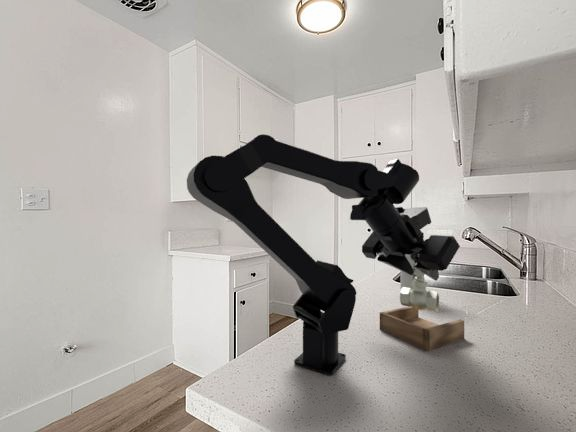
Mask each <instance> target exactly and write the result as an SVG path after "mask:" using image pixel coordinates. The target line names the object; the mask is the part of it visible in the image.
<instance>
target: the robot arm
mask: <svg viewBox="0 0 576 432" xmlns="http://www.w3.org/2000/svg"><path fill="white" fill-rule="evenodd" d="M260 168H264V169H268V170H271V171H275V172H278V173H282V174H285V175H288V176H292V177H295V178H299V179H302V180H305V181H308V182H312V183H316V184H319V185H321V186H324V187H325V188H326V189H327V190H328V191H329V193H332V194H333V195H336V196H337V197H340V198H341V199H344V200H345V199H346V200H353V199H354V200H355V199H361V200H360V201H359V203H358V204H353V205H351V212H350V217H349V220H351V221H365V222H366V224H367V225H368V226H369V228H370V229H371V230H372V232H371V233H370V235H369V236H368V237H367V239H366V240H365V242H364V243H363V244H362V245H361V252H362V253H363V255H364V256H365V257H366V258H368V259H373V260H375V259H377V261H378V262H381V263H383V264H385V265H388V266H390V267H392V268H395V269H396V270H398V271H403V272H405V273H407V274H409V275H413V273H414V270H413V268H412V266H411V264H410V263H409V261H408V260H407V258H406V256H405V255H409V256H411V255H412V254H413V253H418V255H419V262H418V263H417V265H416V266H415V268H417V269H418V270H420V271H421V272H423V273H424V274H425V275H426V276H427V277H429V278H430V279H432V280H433V281H438V279H439V277H440V274H439V273H440V272H442V271H445V270H447V269H448V268H449V265H450V264H451V263H452V260H453V259H454V257H455V255H456V254H457V252H458V250H459V248H460V247H461V246H460V244H459V242H458V240H457V239H456V238H455V236H453V235H439V234H430V236H429V238H427V239H424V241H417V240H416V238H417V237H420V236H421V234H422V233H423V232H422V231H421V230H422V229H424V228H425V227H426V226H428V225H430V224H432V220H431V215H430V213H429V209H428V207H427V206H421V207H419V206H418V207H409V208H404V207H403V206H395V205H399V204H402V203H404V202H405V200H406V199H407V198H408V196H409V195H410V194H411V192H412V191H413V190H414V188H415V187H416V186H417V184H418V182H419V181H420V175H419V172H418V171H417V169H415V168H413V167H412V166H410V165H408V164H406V163H402V162H401V161H400V158H396V159H393V160H392V159H391V160H389V162H387V164H386V166H385V167H384V169H383V170H378V167H377V166H376V165H375V164H373V163H370V162H365V161H364V162H363V161H358V160H336V159H333V158H329V157H326V156H325V155H321V154H318V153H315V152H313V151H309V150H307V149H304V148H301V147H298V146H295V145H292V144H290V143H286V142H284V141H282V140H278V139H276V138H275V137H272V136H271V135H270V134H263V133H262V134H258V135H257V136H256V137H254V138H253V139H251V140H250V141H248V142H247V143H246V144H244V145H242V146H241V147H239V148H237V149H235V150H233V151H232V152H229V153H228V154H227V155H224V156H223V155H209V156H206V157H204V158H203V159H201V160H199V162H198V163H196V164H195V166H193V167H192V168H191V170H189V172H188V174H187V177H186V188H187V191H188V193H189V194H190V196H191V197H192V198H193V199H195V200H196V201H198V202H199V203H200V204H202V205H203V206H205V207H207V208H208V209H210V210H212V211H213V212H215V213H217V214H219V215H221V216H222V217H224V218H226V219H228V220H229V221H231V222H232V223H234V224H235V225H236V226H237V227H239V228H240V229H241V230H242V231H243V232H244V234H246V235H247V236H249V238H250V239H251V240H253V242H254V243H256V244H257V245H258V246H259V247H260V248H261V249H262V250H264V252H265V253H267V255H268V256H270V258H272V259H273V260H274V261H275V263H277V264H278V265H279V266H280V267H282V268H283V269H284V270H285V271H286V272H287V273H288V274H289V275H290V276H291V277H293V279H294V280H295V281H296V284H297V286H298V289H299V291H300V292H301V295H300V296H299V298H298V299H297V300H296V302H295V303H294V304H293V306H292V309H293V312H294V316H295V317H296V318H297V319H300V320H301V321H303V322H302V352H301V354H300V355H299V356H297V357H296V358H295V359H294V360H293V362H294V365H296V366H300V367H303V368H306V369H309V370H312V371H316V372H318V373H323V374H325V375H329V376H331V375H333V374H334V373H335V372H336V370H337V369H338V368H339V367H340V365H341V364H343V362H344V361H345V360H346V357H347V355H346V354H345V353H342V352H339V333H340V332H343V331H347V330H348V329H349V326H350V324H351V320H352V317H353V313H354V310H355V306H356V302H357V301H356V300H357V298H356V296H357V290H356V287H354V285H353V284H352V283H354V279H351V278H349V277H348V276H347V275H346V274H345V273H344V272H345V271H343V269H342V268H341V267H340V266H339V265H337V264H335V263H334V264H333V263H330V262H325V261H323V260H318V259H317V260H315V259H314V258H313V257H312V256H311V255H310V254H309V253H308V252H307V251H306V250H305V249H304V248H303V247H302V246H301V245H300V244H299V243H298V242H297V241H296V240H295V239H294V238H293V237H292V236H291V235H290V234H289V233H288V232H287V231H286V230H284V228H283V227H281V225H280V224H278V222H277V221H276V220H274V219H273V217H272V216H271V215H270V214H269V213H268V212H266V211H265V209H263V207H262V206H261V205H260V204H259V203H258V202H257V200H256V198H255V196H254V194H253V192H252V189H251V187H250V184H249V183H248V182H247V180H246V179H245V178H247V177H249V176H250V175H252V174H253V173H255V172H256V171H257V170H259V169H260ZM439 271H440V272H439Z"/></svg>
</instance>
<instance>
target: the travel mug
mask: <svg viewBox="0 0 576 432" xmlns="http://www.w3.org/2000/svg"><path fill="white" fill-rule="evenodd" d="M424 237H425V236H424V232H422V234H421V236H420V237H417V238H416V240H417V241H425V239H424ZM405 256H406V258H407V260H408V261H409V263H410V264H411V266H412V268H413V270H414V267H415V266H416V265H417V263H415V262H414V260H412V259H411V256H409V255H405ZM399 271H400V270H399ZM414 277H416V274H414V273H413V275H409V274H407V273H405V272H403V271H400V279H399V281H400V290H401V289H402V288H403V287H406V288H411V289H413V286H412V285H411V280H413V279H414ZM423 278H425V275H423Z"/></svg>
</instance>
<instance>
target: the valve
mask: <svg viewBox="0 0 576 432" xmlns="http://www.w3.org/2000/svg"><path fill="white" fill-rule="evenodd" d="M411 259H412V260H414V262H415V263H418V262H419V255H418V253H413V254H412V255H411ZM414 274H416V277H414V279H413V280H411V285H412V286H413V289H411V288H406V287H403V288H402V289H401V288H400V293H399V303H400V305H402V307H411V306H412V307H413V308H415V309H418V311H423V310H427V311H432V312H438V310H439V306H440V294H439V292H438V291H432V290H427V288H428V282H429V281H427V280H426V279H425V277H424V278H423V275H424V276H425V275H426V274H424V273H423V272H421V271H420V270H418V269H417V268H415V267H414Z"/></svg>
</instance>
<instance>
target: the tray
mask: <svg viewBox="0 0 576 432" xmlns="http://www.w3.org/2000/svg"><path fill="white" fill-rule="evenodd" d="M379 330H380V331H382V332H384V333H386V334H389V335H390V336H393V337H395V338H398V339H400V340H402V341H404V342H405V343H408V344H410V345H413V346H415V347H416V348H419V349H421V350H422V351H425V352H429V351H432V350H435V349H437V348H438V349H439V348H441V347H444V346H447V345H450V344H454V343H456V342H459V341H462V340H465V320H463V319H457V320H456V319H455V320H452V321H449V322H445V323H441V324H438V323H436V322H433V321H429V320H427V319H424V318H422V317H420V316H419V310H418V309H415V308H413V307H412V306H411V307H409V306H403V307H400V308H395V309H391V310H385V311H380V312H379Z"/></svg>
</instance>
